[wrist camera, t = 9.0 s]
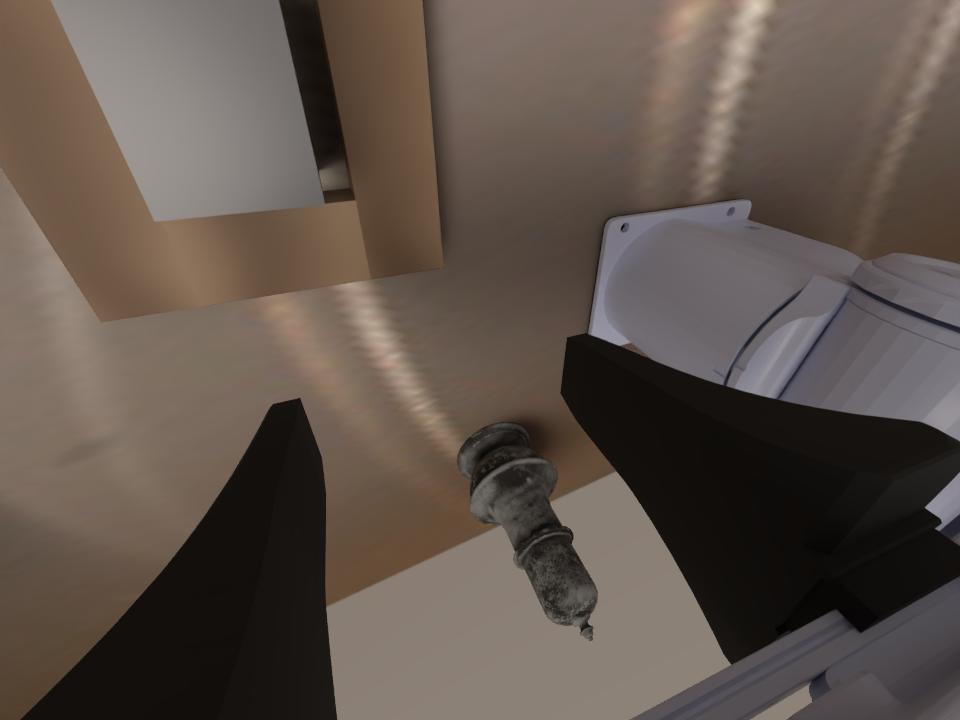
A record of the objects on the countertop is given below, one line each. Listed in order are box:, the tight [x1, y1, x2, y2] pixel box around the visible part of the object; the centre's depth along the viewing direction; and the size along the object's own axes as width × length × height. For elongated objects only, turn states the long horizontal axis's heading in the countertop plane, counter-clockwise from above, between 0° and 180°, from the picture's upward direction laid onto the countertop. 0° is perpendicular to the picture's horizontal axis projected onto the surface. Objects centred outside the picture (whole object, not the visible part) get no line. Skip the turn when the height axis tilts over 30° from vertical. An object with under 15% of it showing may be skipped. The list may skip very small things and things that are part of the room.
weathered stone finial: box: [457, 422, 598, 641], centre depth 23 cm, size 6×6×12 cm
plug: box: [51, 0, 325, 222], centre depth 11 cm, size 4×5×6 cm
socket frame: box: [0, 0, 444, 322], centre depth 12 cm, size 12×13×2 cm
